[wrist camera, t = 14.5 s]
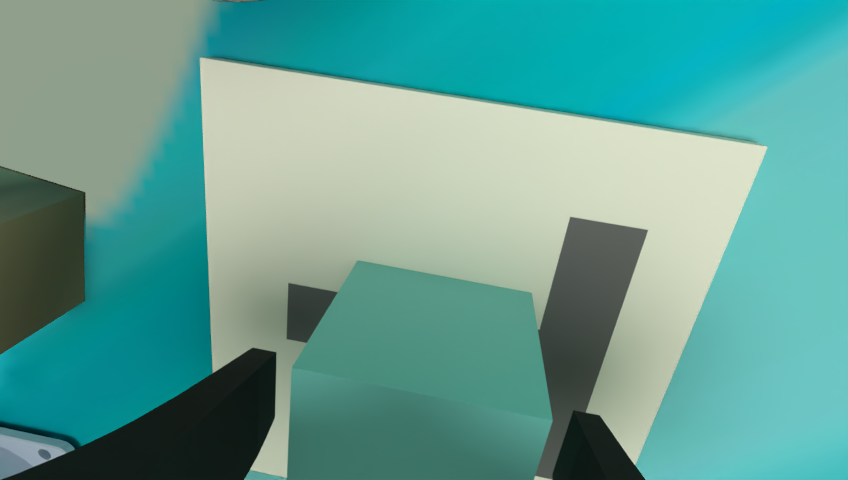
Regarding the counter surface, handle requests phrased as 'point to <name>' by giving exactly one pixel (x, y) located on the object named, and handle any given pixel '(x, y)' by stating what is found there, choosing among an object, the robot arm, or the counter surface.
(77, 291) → the walnut block
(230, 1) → the canned food
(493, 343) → the turquoise cube
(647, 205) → the board
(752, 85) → the counter surface
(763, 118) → the counter surface
